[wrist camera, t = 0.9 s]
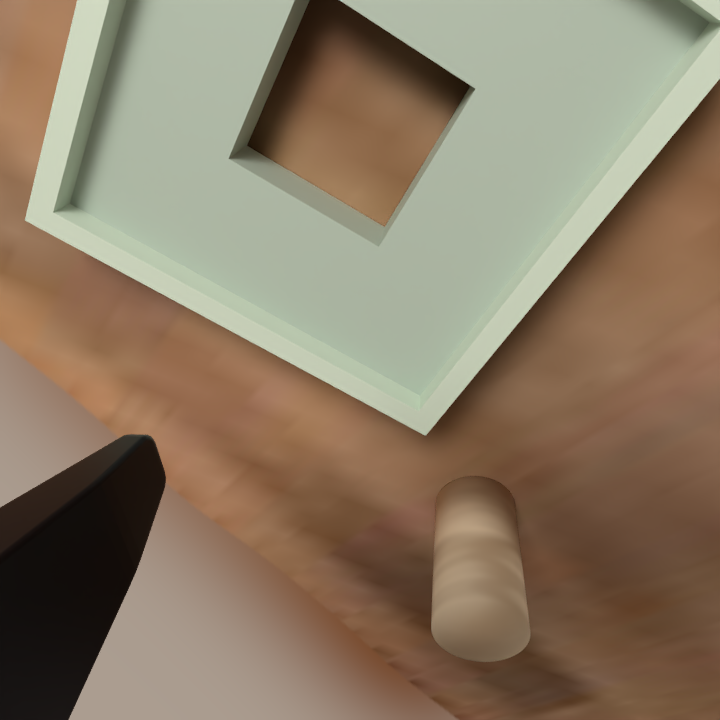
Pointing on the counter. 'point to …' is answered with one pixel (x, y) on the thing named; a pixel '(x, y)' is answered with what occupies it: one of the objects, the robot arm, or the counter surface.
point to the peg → (478, 572)
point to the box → (336, 219)
